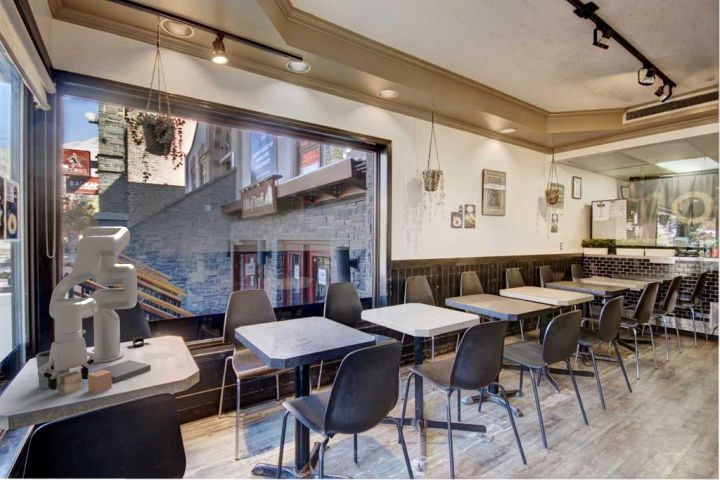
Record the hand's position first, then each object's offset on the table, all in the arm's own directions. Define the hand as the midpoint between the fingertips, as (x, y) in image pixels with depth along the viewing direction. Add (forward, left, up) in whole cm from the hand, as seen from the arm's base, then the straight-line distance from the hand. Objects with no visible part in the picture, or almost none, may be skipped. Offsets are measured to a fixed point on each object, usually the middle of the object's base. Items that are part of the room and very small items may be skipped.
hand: (69, 384), depth 127 cm
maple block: (0, 0, -3) cm, 3 cm away
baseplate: (+1, +18, -2) cm, 18 cm away
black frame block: (-28, +44, -3) cm, 52 cm away
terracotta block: (+9, +5, -3) cm, 11 cm away
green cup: (-12, +1, -3) cm, 13 cm away
